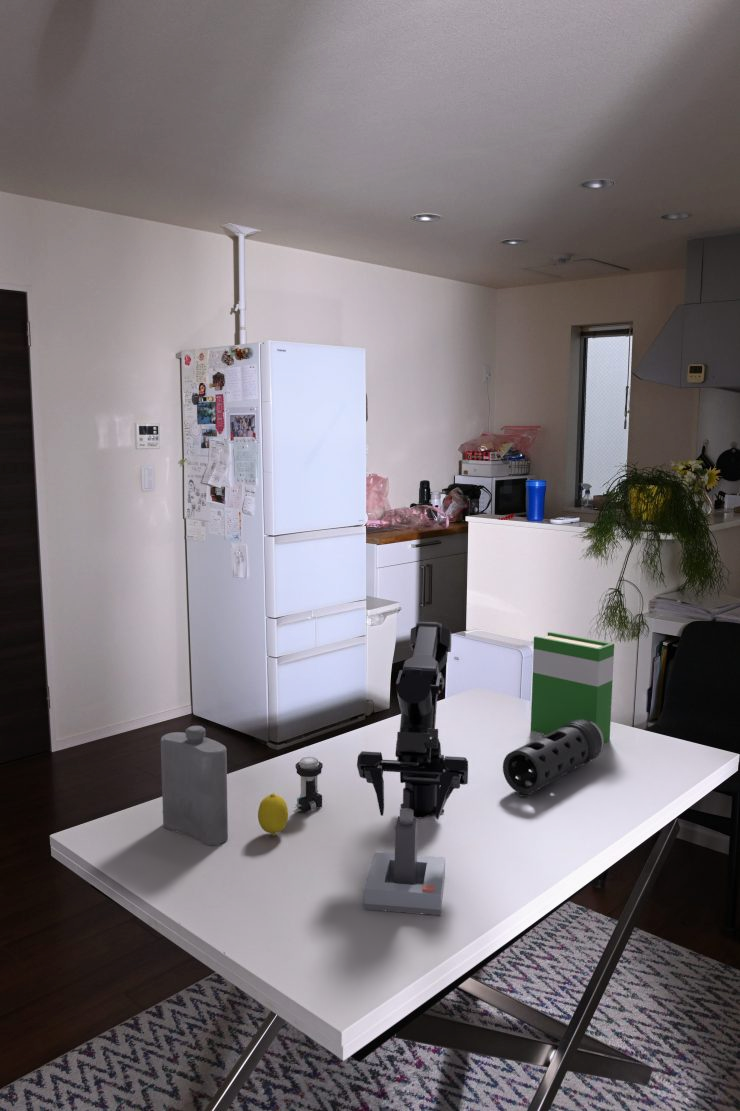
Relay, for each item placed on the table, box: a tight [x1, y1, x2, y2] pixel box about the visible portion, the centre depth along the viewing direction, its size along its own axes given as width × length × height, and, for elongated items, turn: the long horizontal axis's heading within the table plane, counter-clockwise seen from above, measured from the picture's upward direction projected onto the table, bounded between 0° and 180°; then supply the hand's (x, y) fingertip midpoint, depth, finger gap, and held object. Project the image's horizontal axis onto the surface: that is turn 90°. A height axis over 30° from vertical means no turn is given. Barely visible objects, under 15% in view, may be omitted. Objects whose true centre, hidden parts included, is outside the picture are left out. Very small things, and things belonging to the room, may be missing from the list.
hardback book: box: [530, 631, 615, 744], centre depth 214 cm, size 18×7×24 cm, turn 48°
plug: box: [394, 808, 419, 885], centre depth 141 cm, size 4×3×13 cm
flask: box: [160, 725, 229, 847], centre depth 162 cm, size 15×6×20 cm, turn 54°
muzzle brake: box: [502, 719, 604, 798], centre depth 189 cm, size 10×28×10 cm, turn 138°
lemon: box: [257, 793, 289, 836], centre depth 162 cm, size 6×6×8 cm
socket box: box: [363, 851, 446, 916], centre depth 142 cm, size 12×12×4 cm
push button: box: [291, 756, 324, 814], centre depth 172 cm, size 7×5×10 cm
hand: (409, 816), depth 145 cm, fingers open, 9 cm apart
